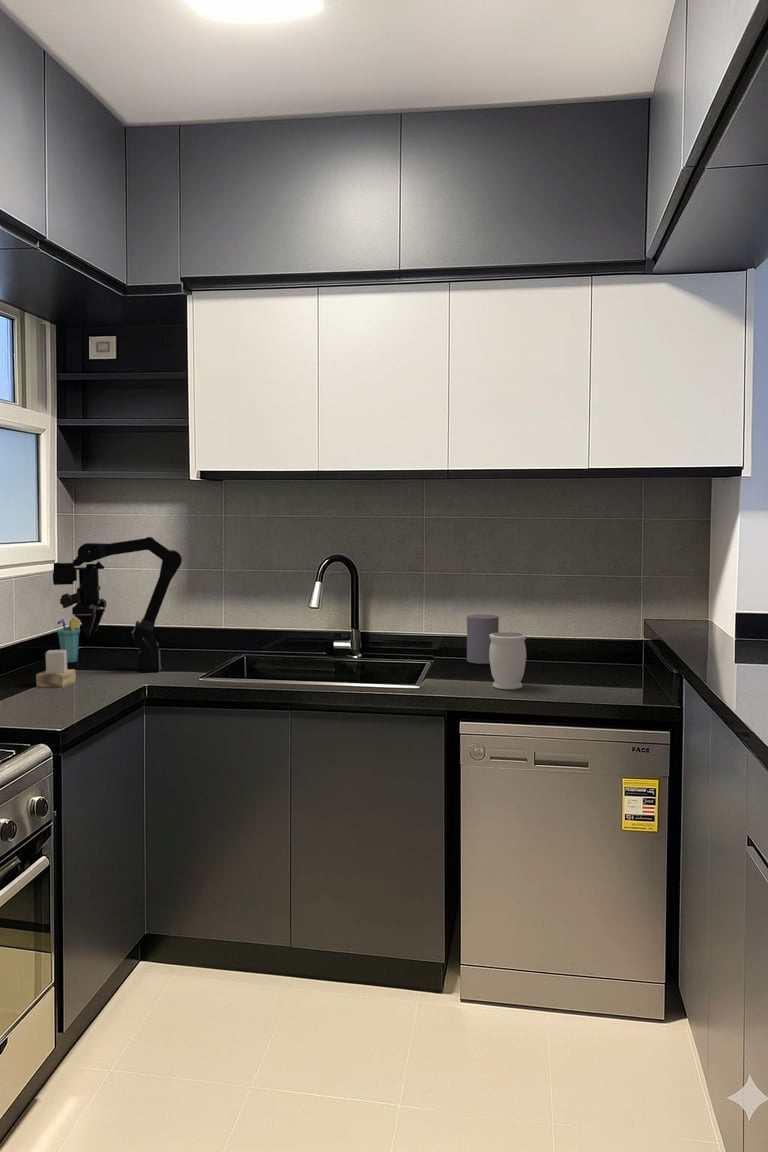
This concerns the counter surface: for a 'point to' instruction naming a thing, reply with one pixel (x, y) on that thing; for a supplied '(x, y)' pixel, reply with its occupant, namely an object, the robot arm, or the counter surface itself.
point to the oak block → (55, 679)
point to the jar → (507, 659)
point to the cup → (70, 639)
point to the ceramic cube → (56, 661)
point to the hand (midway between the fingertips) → (90, 634)
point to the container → (480, 637)
